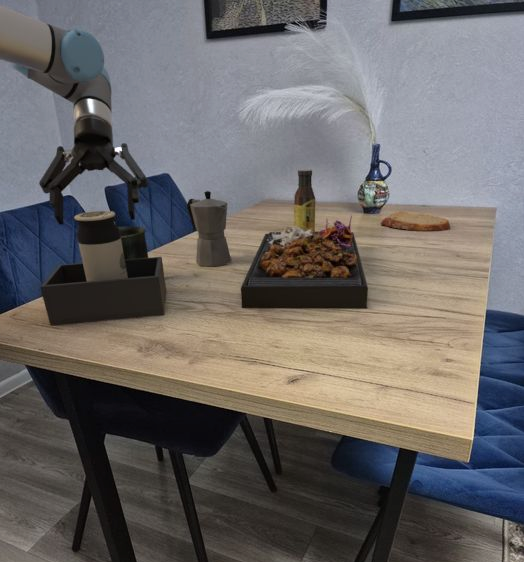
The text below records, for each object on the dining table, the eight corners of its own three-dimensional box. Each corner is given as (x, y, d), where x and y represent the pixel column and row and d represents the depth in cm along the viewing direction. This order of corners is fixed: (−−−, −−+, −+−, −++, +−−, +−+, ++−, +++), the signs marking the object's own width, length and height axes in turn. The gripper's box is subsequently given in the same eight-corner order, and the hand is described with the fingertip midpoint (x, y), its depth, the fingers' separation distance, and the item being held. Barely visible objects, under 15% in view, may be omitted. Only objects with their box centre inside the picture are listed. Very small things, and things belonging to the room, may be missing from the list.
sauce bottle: (308, 243, 138) (309, 171, 129) (290, 241, 141) (289, 171, 132) (318, 238, 143) (319, 168, 134) (300, 236, 146) (300, 168, 137)
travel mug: (85, 309, 95) (64, 218, 87) (103, 295, 102) (85, 210, 94) (122, 310, 94) (104, 218, 85) (137, 296, 101) (123, 210, 92)
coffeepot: (243, 262, 123) (239, 190, 115) (216, 270, 118) (209, 196, 109) (206, 252, 133) (200, 186, 125) (179, 260, 127) (171, 191, 119)
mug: (162, 281, 112) (154, 230, 107) (104, 297, 103) (93, 242, 98) (139, 272, 119) (132, 224, 114) (84, 286, 111) (73, 235, 105)
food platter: (265, 249, 134) (264, 212, 130) (353, 248, 131) (354, 210, 127) (242, 307, 94) (238, 257, 90) (366, 308, 92) (370, 256, 87)
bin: (50, 325, 90) (40, 286, 87) (66, 299, 103) (58, 264, 100) (164, 314, 93) (158, 276, 89) (166, 290, 106) (161, 256, 102)
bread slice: (454, 229, 147) (456, 216, 145) (402, 234, 143) (403, 222, 141) (424, 218, 162) (425, 207, 161) (376, 223, 159) (376, 211, 157)
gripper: (157, 140, 102) (163, 224, 95) (37, 146, 99) (35, 233, 93) (152, 113, 95) (158, 201, 88) (22, 118, 92) (19, 210, 85)
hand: (95, 218), depth 90 cm, fingers open, 13 cm apart
